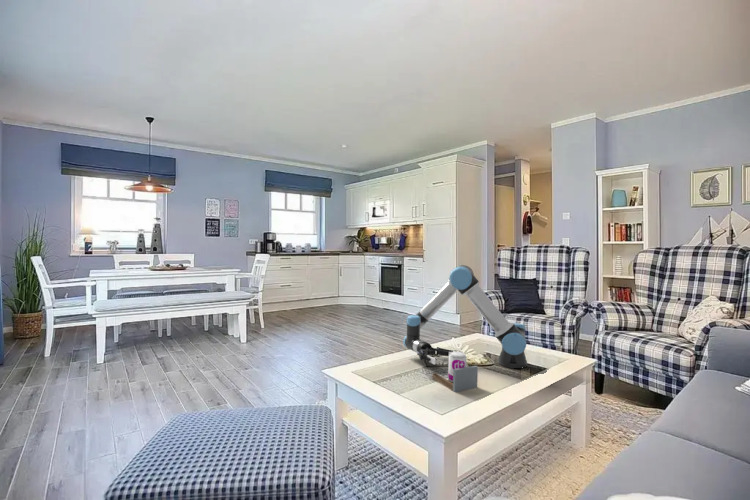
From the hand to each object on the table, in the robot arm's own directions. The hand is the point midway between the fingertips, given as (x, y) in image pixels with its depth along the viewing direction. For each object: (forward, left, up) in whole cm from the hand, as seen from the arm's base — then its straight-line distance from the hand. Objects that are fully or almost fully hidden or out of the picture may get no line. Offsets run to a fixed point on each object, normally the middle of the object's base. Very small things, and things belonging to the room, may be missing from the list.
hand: (446, 360), depth 189 cm
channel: (0, +6, -9) cm, 11 cm away
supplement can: (0, +9, -9) cm, 13 cm away
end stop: (0, +15, -9) cm, 17 cm away
